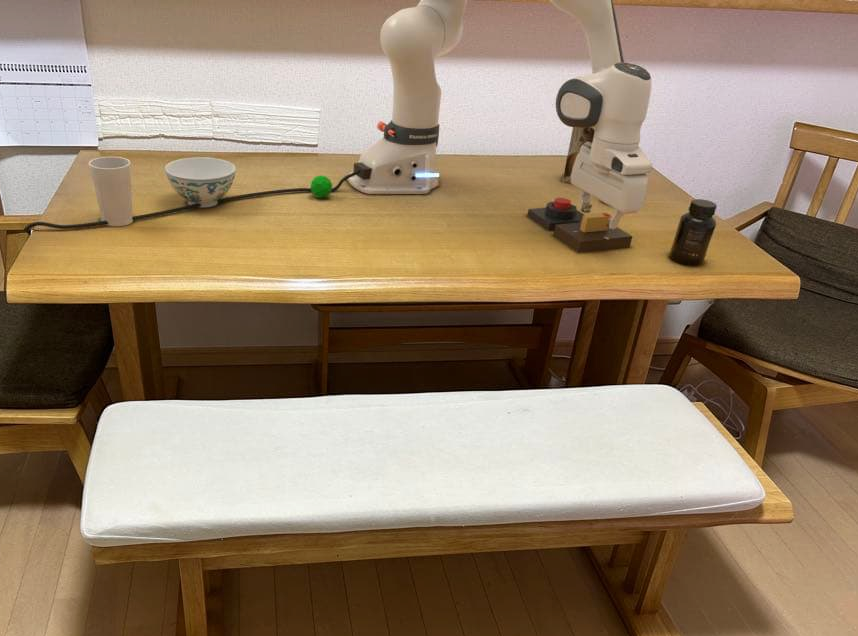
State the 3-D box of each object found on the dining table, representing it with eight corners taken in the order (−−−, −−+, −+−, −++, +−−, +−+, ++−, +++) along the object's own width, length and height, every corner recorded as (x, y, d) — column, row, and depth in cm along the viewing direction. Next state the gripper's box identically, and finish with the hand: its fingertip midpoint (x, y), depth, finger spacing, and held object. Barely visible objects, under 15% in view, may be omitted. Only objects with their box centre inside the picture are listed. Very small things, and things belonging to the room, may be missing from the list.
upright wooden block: (584, 232, 158) (587, 217, 156) (579, 229, 159) (583, 214, 157) (607, 230, 160) (611, 214, 158) (603, 227, 161) (607, 212, 159)
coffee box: (599, 180, 196) (614, 116, 187) (597, 187, 191) (612, 122, 182) (564, 174, 199) (577, 111, 189) (561, 181, 194) (574, 116, 184)
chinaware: (250, 204, 168) (249, 169, 164) (195, 219, 159) (192, 183, 154) (209, 186, 176) (207, 153, 172) (154, 200, 167) (151, 165, 162)
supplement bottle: (710, 262, 155) (729, 206, 148) (689, 268, 152) (707, 211, 145) (683, 250, 160) (700, 195, 153) (661, 256, 156) (678, 199, 149)
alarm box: (548, 230, 165) (551, 215, 163) (527, 216, 172) (529, 201, 170) (590, 226, 168) (593, 211, 166) (568, 212, 175) (571, 197, 173)
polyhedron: (314, 201, 172) (314, 180, 169) (307, 194, 175) (307, 173, 173) (334, 199, 173) (335, 179, 171) (327, 192, 177) (328, 172, 174)
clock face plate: (578, 253, 155) (581, 241, 153) (552, 235, 163) (554, 223, 161) (630, 248, 159) (633, 236, 158) (602, 230, 167) (605, 218, 165)
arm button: (558, 211, 166) (560, 203, 165) (550, 205, 169) (551, 198, 168) (572, 210, 167) (574, 202, 166) (563, 204, 170) (565, 197, 169)
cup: (101, 229, 152) (92, 170, 145) (93, 216, 157) (85, 158, 150) (141, 224, 155) (134, 166, 148) (132, 211, 160) (125, 154, 154)
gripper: (570, 139, 157) (557, 204, 165) (631, 169, 142) (614, 238, 149) (595, 138, 159) (582, 201, 167) (658, 167, 144) (640, 235, 151)
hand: (597, 219), depth 158 cm, fingers open, 8 cm apart
